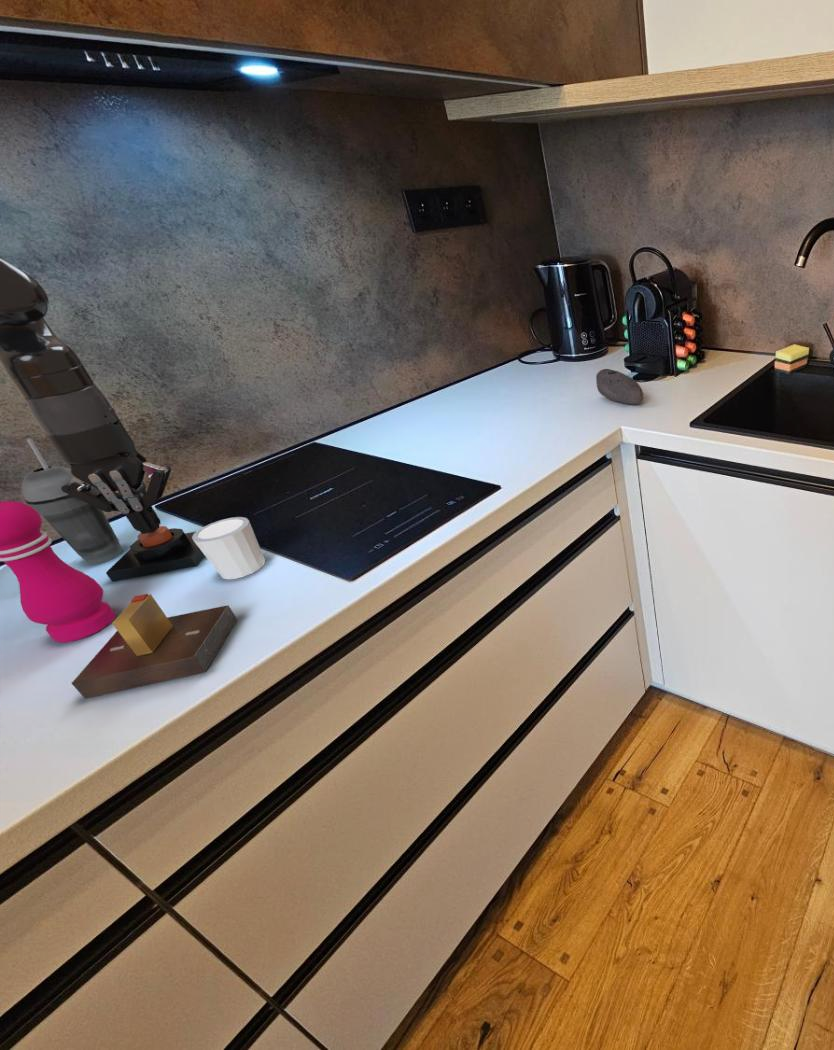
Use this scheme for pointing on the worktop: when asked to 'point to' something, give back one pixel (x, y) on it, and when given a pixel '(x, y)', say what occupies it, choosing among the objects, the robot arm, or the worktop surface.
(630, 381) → the perforated stone tool
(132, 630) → the lock knob
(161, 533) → the button
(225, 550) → the white cup
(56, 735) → the worktop surface
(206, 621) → the plate
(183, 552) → the block
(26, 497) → the beverage cup
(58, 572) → the pepper mill
